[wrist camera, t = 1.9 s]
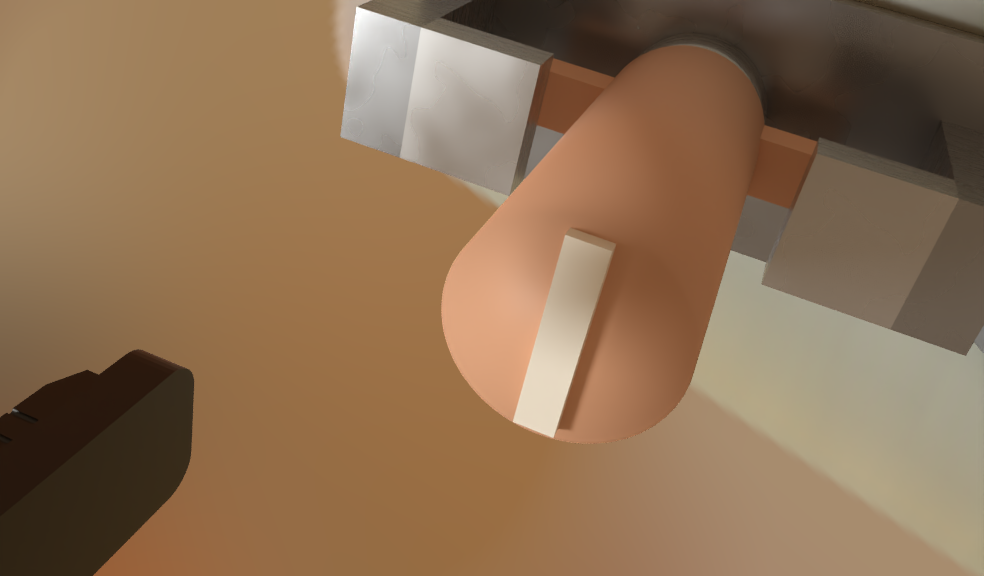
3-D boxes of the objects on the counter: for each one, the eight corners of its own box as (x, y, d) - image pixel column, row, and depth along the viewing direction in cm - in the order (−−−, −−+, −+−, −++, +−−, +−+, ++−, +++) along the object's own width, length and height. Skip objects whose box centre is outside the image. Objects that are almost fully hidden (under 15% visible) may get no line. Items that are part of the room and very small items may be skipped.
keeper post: (453, -115, 28) (345, -90, 22) (1066, 60, 25) (1128, 142, 19) (412, 127, 32) (313, 200, 27) (932, 305, 29) (949, 433, 23)
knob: (546, 0, 26) (335, 137, 15) (877, 100, 24) (884, 328, 14) (511, 150, 28) (309, 352, 18) (809, 251, 26) (773, 540, 16)
